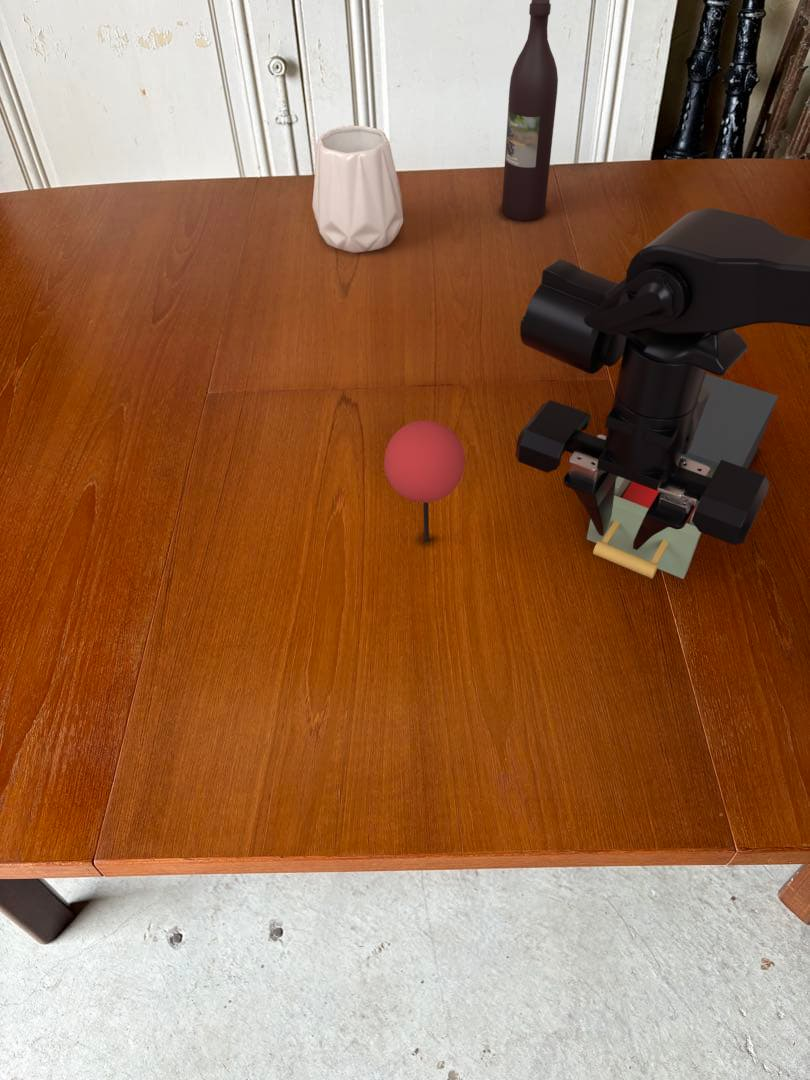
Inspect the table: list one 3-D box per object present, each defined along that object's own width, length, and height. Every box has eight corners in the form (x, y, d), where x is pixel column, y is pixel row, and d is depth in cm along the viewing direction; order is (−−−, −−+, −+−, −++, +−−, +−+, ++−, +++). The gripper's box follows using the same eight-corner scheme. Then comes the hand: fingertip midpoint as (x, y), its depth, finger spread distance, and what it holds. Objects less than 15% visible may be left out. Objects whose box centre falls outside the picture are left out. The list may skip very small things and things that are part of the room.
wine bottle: (496, 205, 136) (507, -4, 114) (536, 199, 137) (555, -10, 115) (509, 224, 131) (524, 11, 109) (551, 218, 132) (574, 5, 110)
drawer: (666, 612, 78) (680, 570, 74) (567, 569, 82) (574, 526, 77) (723, 502, 88) (739, 459, 83) (632, 468, 92) (642, 425, 87)
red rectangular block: (691, 522, 84) (697, 505, 82) (680, 543, 83) (685, 526, 81) (627, 498, 87) (632, 480, 85) (615, 518, 85) (619, 500, 83)
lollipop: (472, 525, 88) (477, 417, 77) (444, 575, 83) (445, 468, 72) (408, 505, 90) (404, 397, 79) (377, 553, 86) (368, 446, 74)
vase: (298, 245, 129) (285, 147, 118) (348, 208, 137) (340, 112, 125) (372, 267, 124) (365, 167, 112) (420, 227, 132) (418, 130, 120)
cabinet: (718, 525, 87) (739, 470, 81) (616, 486, 91) (629, 431, 85) (756, 451, 94) (778, 395, 88) (660, 418, 99) (675, 363, 92)
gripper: (819, 374, 59) (756, 520, 71) (582, 304, 66) (560, 448, 78) (776, 464, 53) (715, 608, 65) (520, 377, 60) (506, 521, 72)
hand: (620, 539), depth 70 cm, fingers open, 3 cm apart
